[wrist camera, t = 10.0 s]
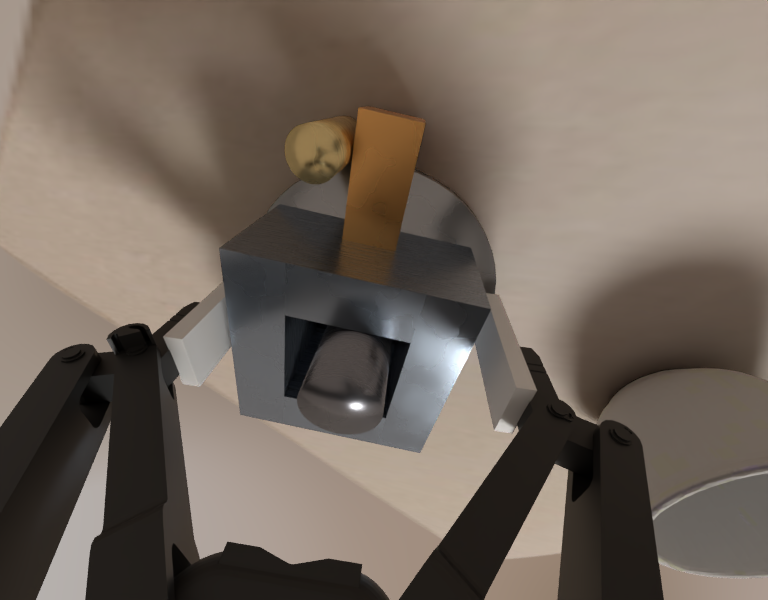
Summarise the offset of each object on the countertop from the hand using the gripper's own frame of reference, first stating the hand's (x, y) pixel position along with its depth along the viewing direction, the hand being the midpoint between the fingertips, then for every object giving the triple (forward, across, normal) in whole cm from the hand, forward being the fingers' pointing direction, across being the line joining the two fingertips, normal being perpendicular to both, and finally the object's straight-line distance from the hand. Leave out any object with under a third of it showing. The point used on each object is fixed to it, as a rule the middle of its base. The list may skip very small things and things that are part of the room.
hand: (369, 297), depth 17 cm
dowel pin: (+1, -2, +8) cm, 8 cm away
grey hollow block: (0, 0, +2) cm, 2 cm away
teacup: (+1, +22, -7) cm, 23 cm away
